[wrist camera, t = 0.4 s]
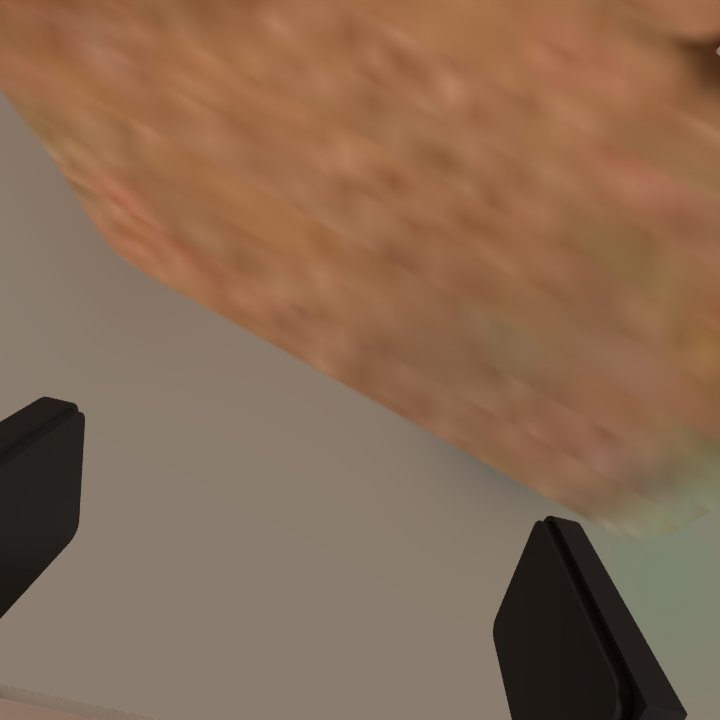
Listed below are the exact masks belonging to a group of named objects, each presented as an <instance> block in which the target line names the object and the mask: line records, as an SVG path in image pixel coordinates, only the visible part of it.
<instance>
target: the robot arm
mask: <svg viewBox="0 0 720 720" xmlns="http://www.w3.org/2000/svg"><path fill="white" fill-rule="evenodd" d="M84 428H85V417H84V414H83V413H81V412H78V407H77V405H76V404H75V403H71V402H67V401H63V400H58V399H54V398H50V397H42V398H40V399H38V400H36V401H35V402H33V403H31V404H30V405H28V406H26V407H25V408H23V409H21V410H20V411H18V412H16V413H14V414H13V415H11V416H9V417H8V418H6V419H4V420H3V421H1V422H0V618H1V617H2V616H3V615H4V614H5V613H6V612H7V611H8V610H9V608H10V607H11V606H12V605H13V604H14V603H15V602H16V601H17V600H18V598H20V596H21V595H22V594H23V593H24V592H25V591H26V590H27V589H28V588H29V586H30V585H31V584H32V583H33V582H34V581H35V580H36V579H37V578H38V577H39V576H40V574H41V573H42V572H43V571H44V570H45V569H46V568H47V567H48V566H49V565H50V563H51V562H52V561H53V560H54V559H55V558H56V557H57V556H58V555H59V554H60V553H61V551H62V550H63V549H64V548H65V547H66V546H67V545H68V544H69V543H70V541H71V540H72V539H73V537H74V535H75V533H76V531H77V528H78V524H79V514H80V496H81V479H82V478H81V477H82V462H83V444H84ZM493 637H494V643H495V647H496V652H497V656H498V661H499V665H500V669H501V674H502V678H503V683H504V687H505V691H506V696H507V700H508V705H509V709H510V713H511V717H512V720H685V718H686V716H687V713H686V711H685V709H684V708H683V706H682V704H681V702H680V700H679V699H678V697H677V695H676V693H675V692H674V690H673V688H672V686H671V684H670V683H669V681H668V679H667V677H666V676H665V674H664V672H663V670H662V669H661V667H660V665H659V663H658V661H657V660H656V658H655V656H654V654H653V653H652V651H651V649H650V647H649V645H648V644H647V642H646V640H645V638H644V637H643V635H642V633H641V631H640V629H639V628H638V626H637V624H636V622H635V621H634V619H633V617H632V615H631V614H630V612H629V610H628V608H627V607H626V605H625V603H624V601H623V599H622V598H621V596H620V594H619V592H618V591H617V589H616V587H615V586H614V584H613V582H612V580H611V578H610V576H609V575H608V573H607V571H606V569H605V567H604V566H603V564H602V562H601V560H600V559H599V557H598V555H597V553H596V552H595V550H594V548H593V546H592V545H591V543H590V541H589V539H588V537H587V536H586V534H585V532H584V530H583V528H582V527H581V525H580V524H579V523H578V522H575V521H571V520H566V519H562V518H558V517H554V516H547V517H546V518H545V519H544V521H537V522H536V523H535V525H534V527H533V529H532V531H531V534H530V536H529V539H528V541H527V543H526V546H525V548H524V551H523V553H522V555H521V558H520V560H519V563H518V565H517V567H516V570H515V572H514V575H513V577H512V579H511V582H510V584H509V587H508V589H507V592H506V594H505V596H504V599H503V601H502V604H501V606H500V608H499V611H498V613H497V616H496V618H495V621H494V628H493ZM0 720H159V719H154V718H149V717H145V716H141V715H136V714H132V713H127V712H123V711H118V710H114V709H109V708H104V707H100V706H95V705H91V704H86V703H82V702H76V701H72V700H67V699H63V698H59V697H54V696H49V695H45V694H40V693H36V692H31V691H26V690H22V689H17V688H13V687H8V686H4V685H0Z"/></svg>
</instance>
